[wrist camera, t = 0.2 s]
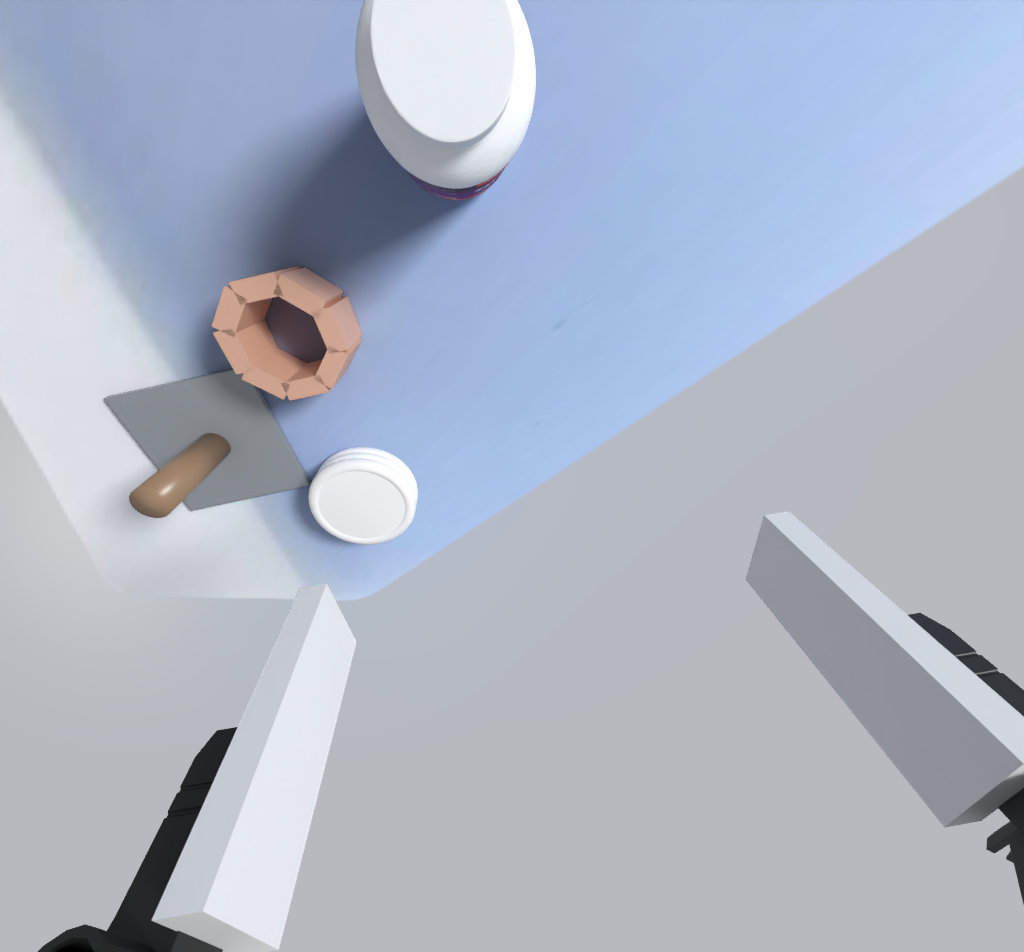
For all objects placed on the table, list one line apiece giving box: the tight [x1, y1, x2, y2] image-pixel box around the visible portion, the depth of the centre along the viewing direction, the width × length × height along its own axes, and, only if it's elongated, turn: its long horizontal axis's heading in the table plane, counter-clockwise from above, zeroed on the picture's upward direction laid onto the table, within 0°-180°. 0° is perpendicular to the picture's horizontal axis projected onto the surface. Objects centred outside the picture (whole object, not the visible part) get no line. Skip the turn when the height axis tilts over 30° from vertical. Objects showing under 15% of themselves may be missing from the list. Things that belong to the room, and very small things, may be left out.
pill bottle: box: [355, 0, 536, 200], centre depth 21 cm, size 8×8×14 cm
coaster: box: [309, 447, 418, 544], centre depth 40 cm, size 10×10×4 cm
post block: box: [104, 369, 310, 518], centre depth 33 cm, size 12×12×10 cm
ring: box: [212, 266, 362, 401], centre depth 31 cm, size 8×8×5 cm
